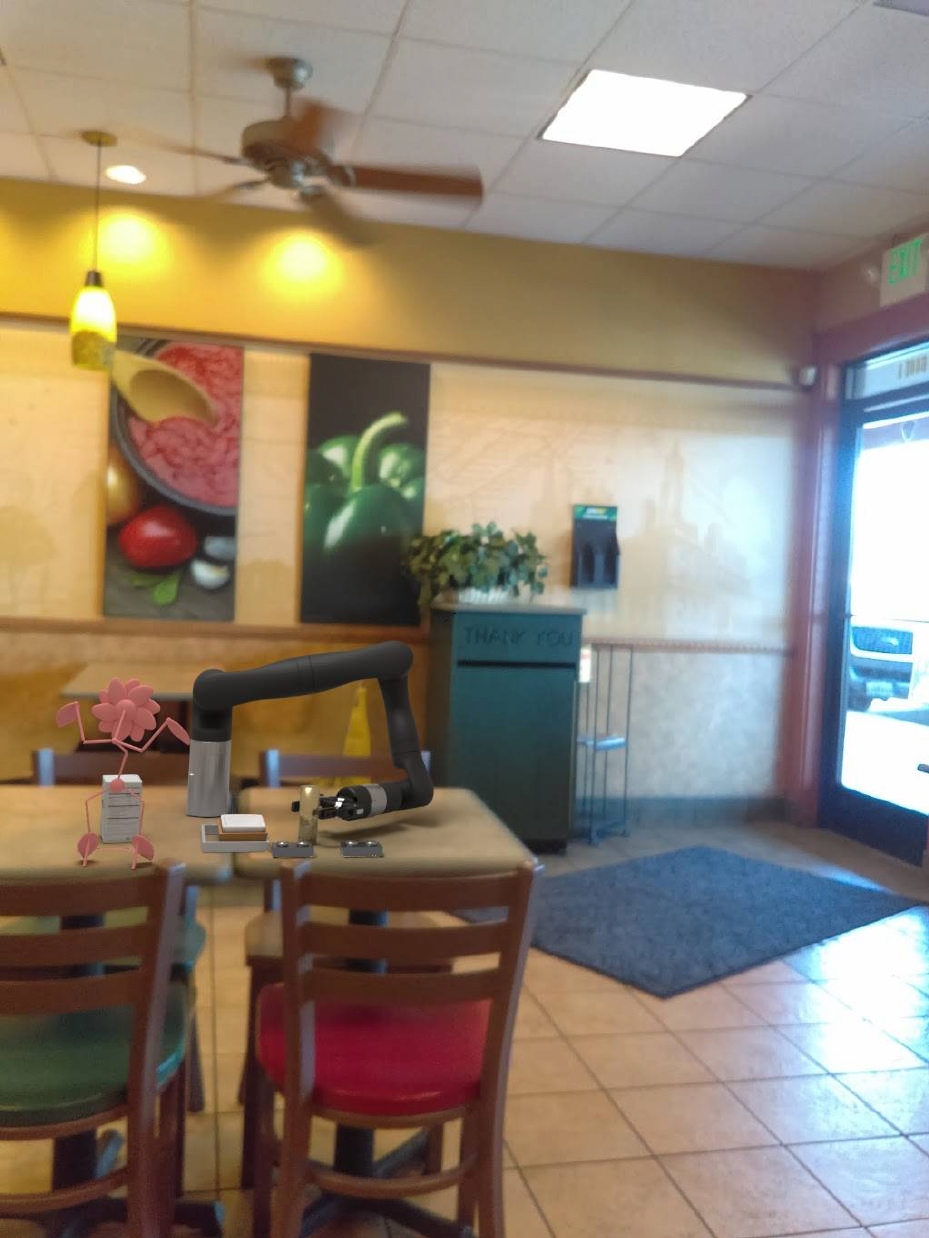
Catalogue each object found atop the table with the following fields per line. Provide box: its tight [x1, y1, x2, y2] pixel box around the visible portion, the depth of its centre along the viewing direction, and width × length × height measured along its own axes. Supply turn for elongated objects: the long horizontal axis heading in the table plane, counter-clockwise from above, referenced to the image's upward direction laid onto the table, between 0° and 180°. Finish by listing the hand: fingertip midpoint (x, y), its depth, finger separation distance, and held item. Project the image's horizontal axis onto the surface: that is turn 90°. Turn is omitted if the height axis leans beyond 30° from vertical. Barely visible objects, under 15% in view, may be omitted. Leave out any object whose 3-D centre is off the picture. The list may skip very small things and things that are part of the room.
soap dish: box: [217, 813, 269, 842], centre depth 221 cm, size 12×10×5 cm
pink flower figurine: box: [55, 677, 191, 870], centre depth 204 cm, size 15×26×35 cm, turn 91°
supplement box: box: [99, 774, 143, 844], centre depth 219 cm, size 7×7×13 cm
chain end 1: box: [270, 840, 315, 858], centre depth 214 cm, size 8×4×3 cm, turn 105°
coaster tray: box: [200, 823, 270, 853], centre depth 221 cm, size 13×15×2 cm
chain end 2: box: [339, 839, 383, 857], centre depth 218 cm, size 8×4×3 cm, turn 105°
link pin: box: [297, 784, 321, 846], centre depth 224 cm, size 4×4×12 cm
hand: (305, 810), depth 223 cm, fingers open, 8 cm apart
